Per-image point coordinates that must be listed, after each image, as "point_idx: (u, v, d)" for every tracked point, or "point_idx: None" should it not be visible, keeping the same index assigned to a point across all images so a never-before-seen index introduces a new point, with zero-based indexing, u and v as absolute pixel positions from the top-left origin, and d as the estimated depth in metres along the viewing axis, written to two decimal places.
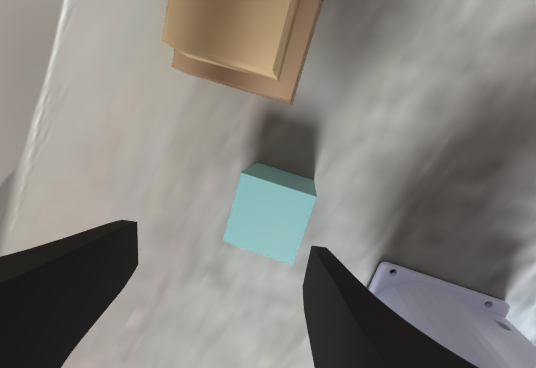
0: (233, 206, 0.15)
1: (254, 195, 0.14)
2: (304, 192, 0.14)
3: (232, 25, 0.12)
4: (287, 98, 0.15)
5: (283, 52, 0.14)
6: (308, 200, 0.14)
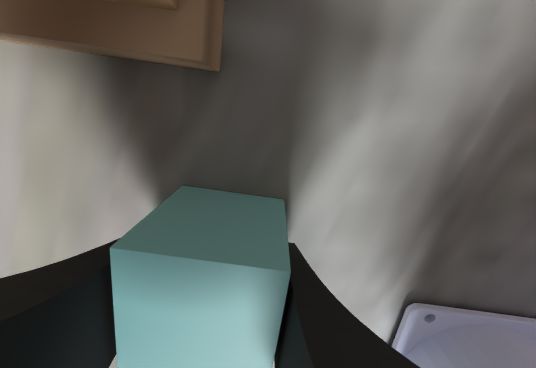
0: (116, 315, 0.07)
1: (155, 289, 0.06)
2: (262, 264, 0.06)
3: None
4: (195, 57, 0.07)
5: None
6: (274, 280, 0.06)
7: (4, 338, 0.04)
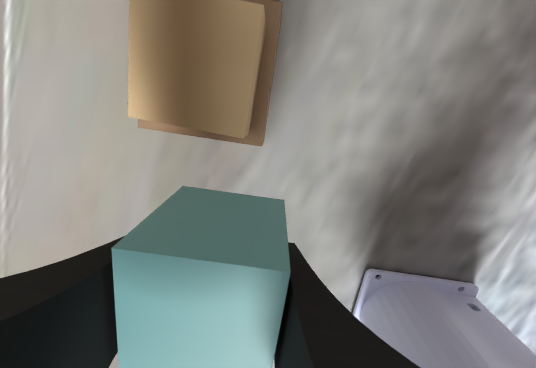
0: (118, 315, 0.07)
1: (156, 289, 0.07)
2: (262, 265, 0.06)
3: (198, 98, 0.12)
4: (259, 145, 0.16)
5: (251, 110, 0.14)
6: (274, 280, 0.06)
7: (4, 338, 0.04)
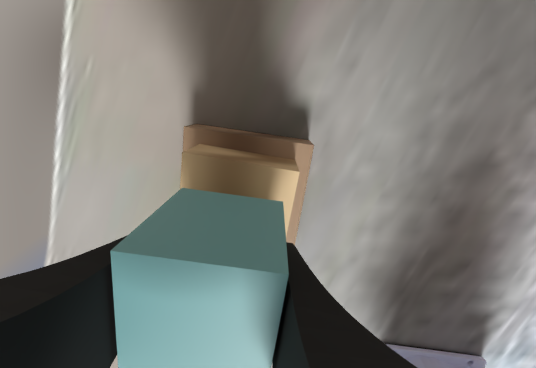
0: (117, 317, 0.07)
1: (155, 291, 0.07)
2: (261, 267, 0.06)
3: None
4: None
5: None
6: (272, 282, 0.06)
7: (6, 338, 0.04)
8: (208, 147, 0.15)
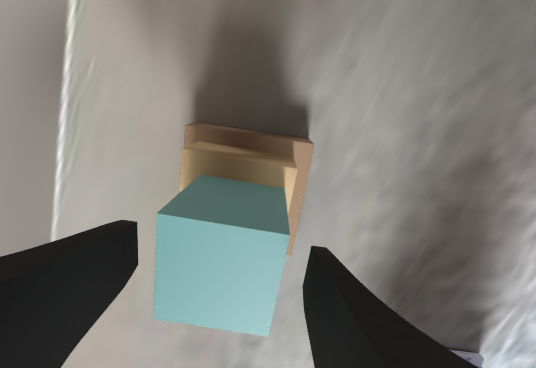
0: (157, 267, 0.09)
1: (187, 246, 0.09)
2: (269, 230, 0.08)
3: None
4: (289, 253, 0.18)
5: None
6: (277, 241, 0.08)
7: None
8: (207, 144, 0.15)
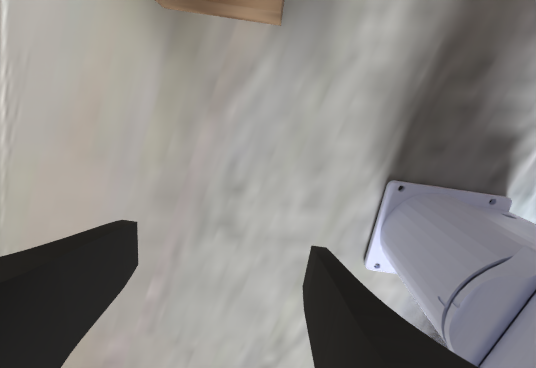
0: None
1: None
2: None
3: None
4: (277, 10, 0.14)
5: None
6: None
7: None
8: None
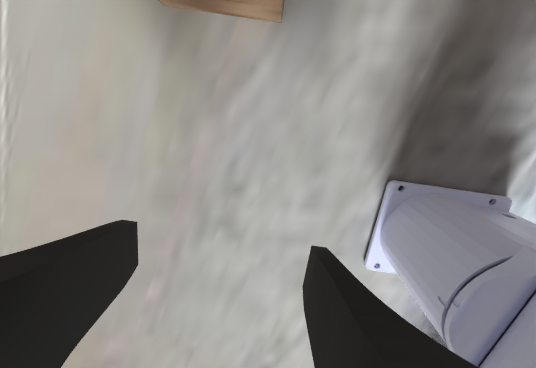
0: None
1: None
2: None
3: None
4: (278, 6, 0.14)
5: None
6: None
7: None
8: None
